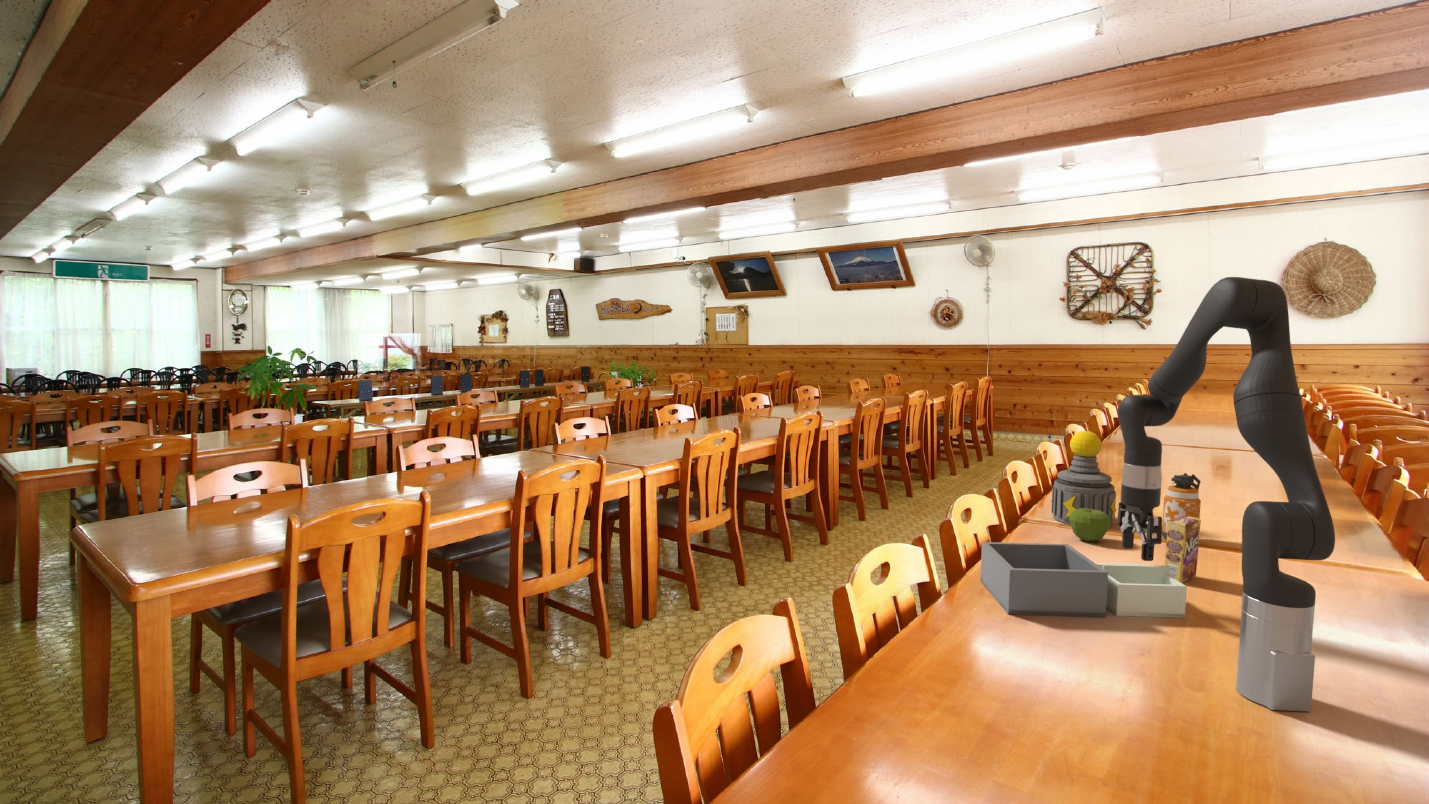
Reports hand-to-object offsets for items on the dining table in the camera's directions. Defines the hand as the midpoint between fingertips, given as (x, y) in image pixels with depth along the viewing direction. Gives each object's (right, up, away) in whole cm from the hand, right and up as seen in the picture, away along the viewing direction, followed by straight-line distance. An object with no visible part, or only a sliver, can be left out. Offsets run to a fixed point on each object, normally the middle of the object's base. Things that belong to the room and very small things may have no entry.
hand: (1137, 554), depth 153 cm
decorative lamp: (+26, -5, +71) cm, 76 cm away
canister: (+45, -7, +50) cm, 67 cm away
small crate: (0, -12, +1) cm, 12 cm away
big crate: (-20, -11, +5) cm, 23 cm away
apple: (+16, -7, +49) cm, 53 cm away
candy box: (+21, -10, +17) cm, 29 cm away
